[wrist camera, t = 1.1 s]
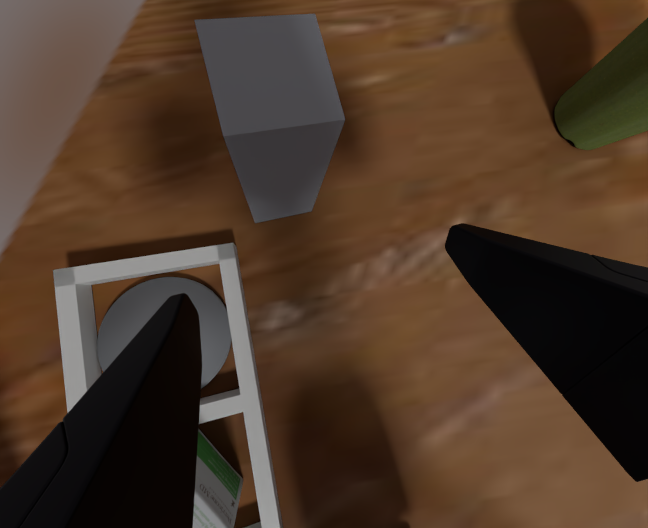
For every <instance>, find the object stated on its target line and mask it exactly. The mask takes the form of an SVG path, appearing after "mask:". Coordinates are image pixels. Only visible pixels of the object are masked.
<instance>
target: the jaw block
mask: <svg viewBox="0 0 648 528" xmlns="http://www.w3.org/2000/svg"><path fill="white" fill-rule="evenodd" d="M195 24H196V28H197V32H198V36H199V40H200V44H201V48H202V52H203V56H204V61H205V65H206V69H207V73H208V77H209V81H210V85H211V89H212V93H213V97H214V101H215V105H216V109H217V113H218V117H219V121H220V125H221V129H222V133H223V137H224V140H225V142H226V145H227V148H228V151H229V153H230V156H231V159H232V161H233V164H234V167H235V170H236V172H237V175H238V178H239V181H240V183H241V186H242V189H243V191H244V194H245V197H246V200H247V202H248V205H249V208H250V210H251V213H252V216H253V219H254V221H255V223H259V222H263V221H268V220H273V219H278V218H283V217H287V216H292V215H297V214H302V213H306V212H311V211H312V209H313V206H314V203H315V201H316V198H317V195H318V192H319V190H320V187H321V184H322V182H323V179H324V176H325V173H326V171H327V168H328V165H329V163H330V160H331V157H332V154H333V152H334V149H335V146H336V143H337V141H338V138H339V135H340V133H341V130H342V127H343V124H344V122H345V117H344V113H343V110H342V106H341V103H340V99H339V96H338V92H337V89H336V85H335V82H334V78H333V75H332V71H331V68H330V64H329V61H328V57H327V54H326V50H325V47H324V43H323V40H322V37H321V33H320V30H319V26H318V23H317V19H316V16H315V14H300V15H280V16H261V17H241V18H222V19H202V20H195Z"/></svg>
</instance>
